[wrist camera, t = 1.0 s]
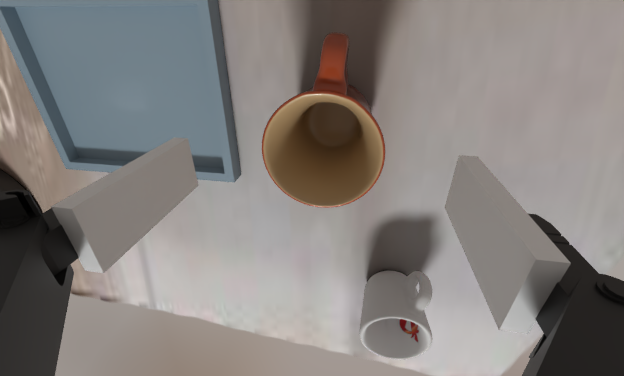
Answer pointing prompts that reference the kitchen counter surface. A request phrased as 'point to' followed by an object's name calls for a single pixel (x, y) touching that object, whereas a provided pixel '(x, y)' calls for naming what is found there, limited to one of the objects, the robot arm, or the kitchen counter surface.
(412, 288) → the cup
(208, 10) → the tray
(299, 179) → the mug
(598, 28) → the kitchen counter surface
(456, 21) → the kitchen counter surface
